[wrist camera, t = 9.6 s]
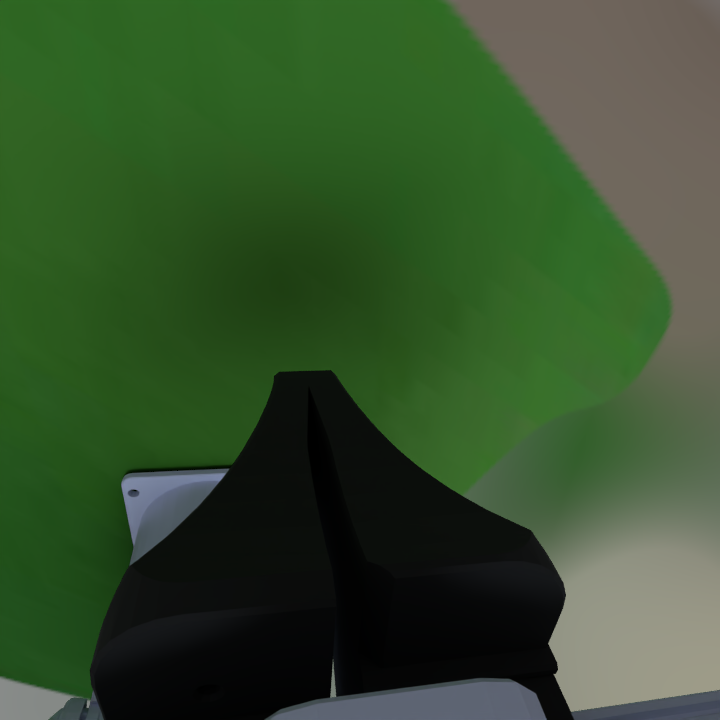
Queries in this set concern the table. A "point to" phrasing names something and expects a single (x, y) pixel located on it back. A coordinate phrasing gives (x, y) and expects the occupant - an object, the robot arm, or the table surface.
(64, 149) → the table surface
